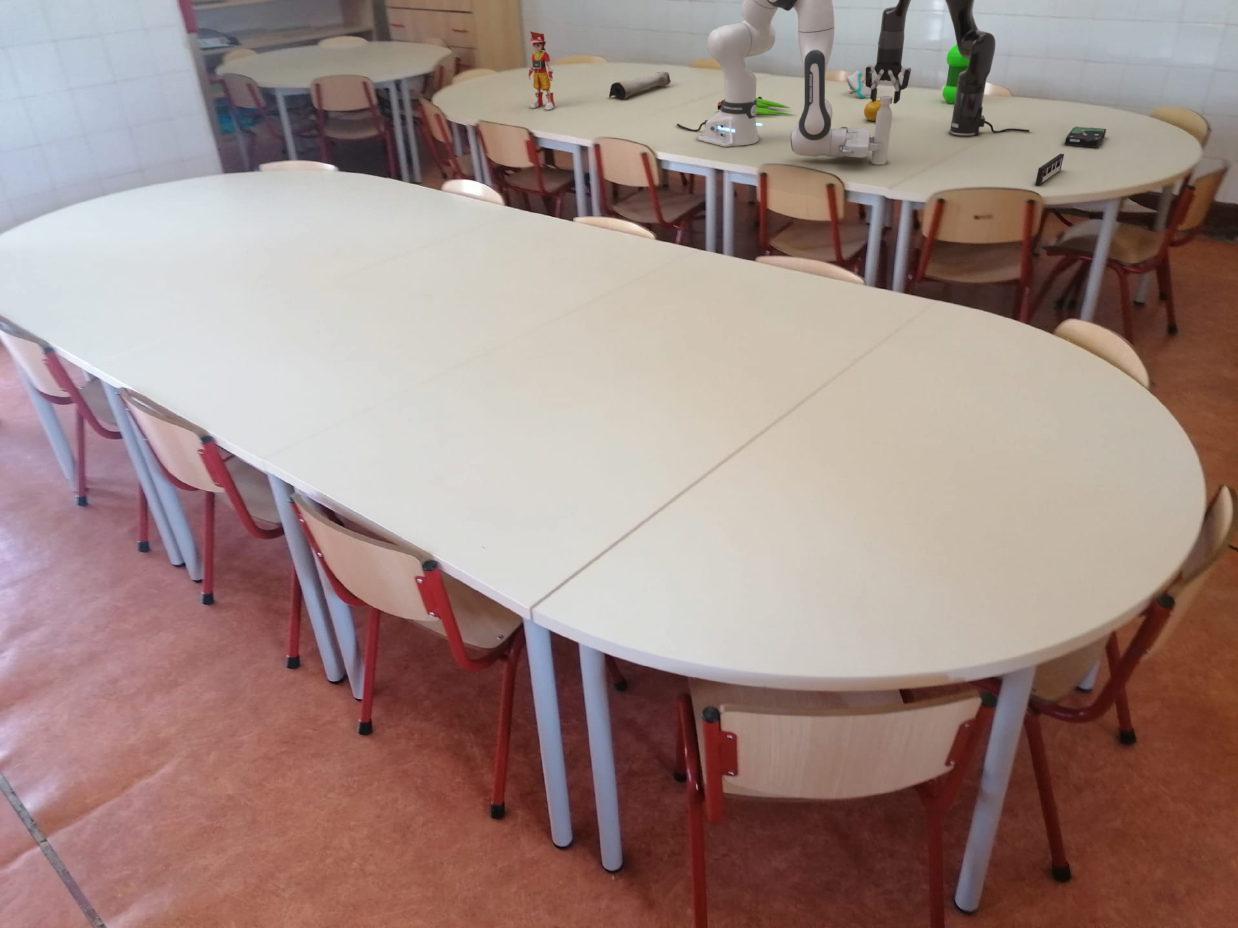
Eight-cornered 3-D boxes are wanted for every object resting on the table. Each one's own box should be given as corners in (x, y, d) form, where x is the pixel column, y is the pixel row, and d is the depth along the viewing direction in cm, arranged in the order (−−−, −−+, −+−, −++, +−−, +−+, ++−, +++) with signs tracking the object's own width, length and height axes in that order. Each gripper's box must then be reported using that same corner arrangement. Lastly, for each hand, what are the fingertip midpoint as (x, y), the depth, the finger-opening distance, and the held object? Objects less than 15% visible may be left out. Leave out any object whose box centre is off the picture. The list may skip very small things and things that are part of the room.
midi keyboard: (1039, 185, 269) (1043, 168, 266) (1035, 184, 270) (1038, 168, 267) (1060, 170, 279) (1064, 154, 277) (1056, 169, 280) (1060, 153, 277)
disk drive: (1097, 149, 296) (1104, 136, 306) (1099, 140, 294) (1106, 128, 304) (1064, 145, 301) (1072, 133, 311) (1065, 137, 299) (1074, 125, 309)
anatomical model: (842, 70, 374) (865, 63, 373) (844, 95, 380) (867, 89, 379) (852, 77, 361) (877, 71, 360) (855, 104, 367) (879, 97, 366)
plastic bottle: (973, 101, 354) (984, 32, 339) (955, 106, 349) (966, 36, 335) (952, 97, 361) (962, 29, 346) (934, 102, 356) (944, 33, 342)
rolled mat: (651, 76, 408) (662, 61, 399) (662, 93, 408) (674, 79, 400) (605, 92, 391) (616, 77, 383) (617, 110, 391) (628, 95, 383)
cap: (890, 101, 287) (891, 95, 286) (892, 104, 284) (893, 98, 283) (878, 102, 287) (879, 96, 286) (881, 104, 284) (881, 99, 283)
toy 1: (525, 109, 381) (517, 32, 364) (534, 104, 388) (527, 28, 371) (550, 110, 377) (543, 32, 360) (559, 105, 384) (553, 28, 367)
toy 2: (708, 113, 354) (778, 126, 342) (709, 100, 352) (780, 111, 339) (738, 103, 375) (805, 114, 362) (739, 90, 372) (807, 101, 359)
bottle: (888, 164, 294) (896, 100, 283) (873, 165, 294) (881, 101, 283) (883, 160, 298) (891, 96, 287) (869, 161, 298) (876, 97, 287)
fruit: (858, 112, 335) (872, 93, 332) (861, 115, 343) (874, 96, 340) (877, 125, 334) (891, 105, 331) (879, 128, 342) (892, 108, 339)
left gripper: (839, 142, 286) (884, 142, 282) (842, 125, 302) (885, 125, 299) (837, 162, 289) (882, 163, 286) (841, 144, 305) (883, 145, 302)
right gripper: (917, 44, 275) (910, 101, 285) (872, 42, 282) (866, 98, 292) (910, 49, 270) (903, 107, 280) (863, 46, 277) (858, 103, 286)
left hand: (883, 143), depth 292 cm, fingers closed on bottle, 5 cm apart
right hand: (884, 102), depth 286 cm, fingers open, 6 cm apart
